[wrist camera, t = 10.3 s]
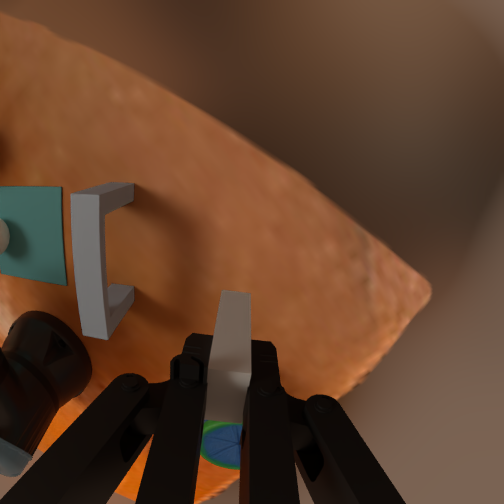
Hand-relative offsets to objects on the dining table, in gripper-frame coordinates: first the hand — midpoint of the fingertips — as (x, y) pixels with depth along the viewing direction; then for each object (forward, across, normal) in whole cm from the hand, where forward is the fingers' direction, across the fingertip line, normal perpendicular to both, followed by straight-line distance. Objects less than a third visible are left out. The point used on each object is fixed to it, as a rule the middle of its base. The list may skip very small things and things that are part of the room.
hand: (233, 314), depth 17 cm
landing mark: (+19, +29, +4) cm, 35 cm away
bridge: (+19, +14, +4) cm, 24 cm away
